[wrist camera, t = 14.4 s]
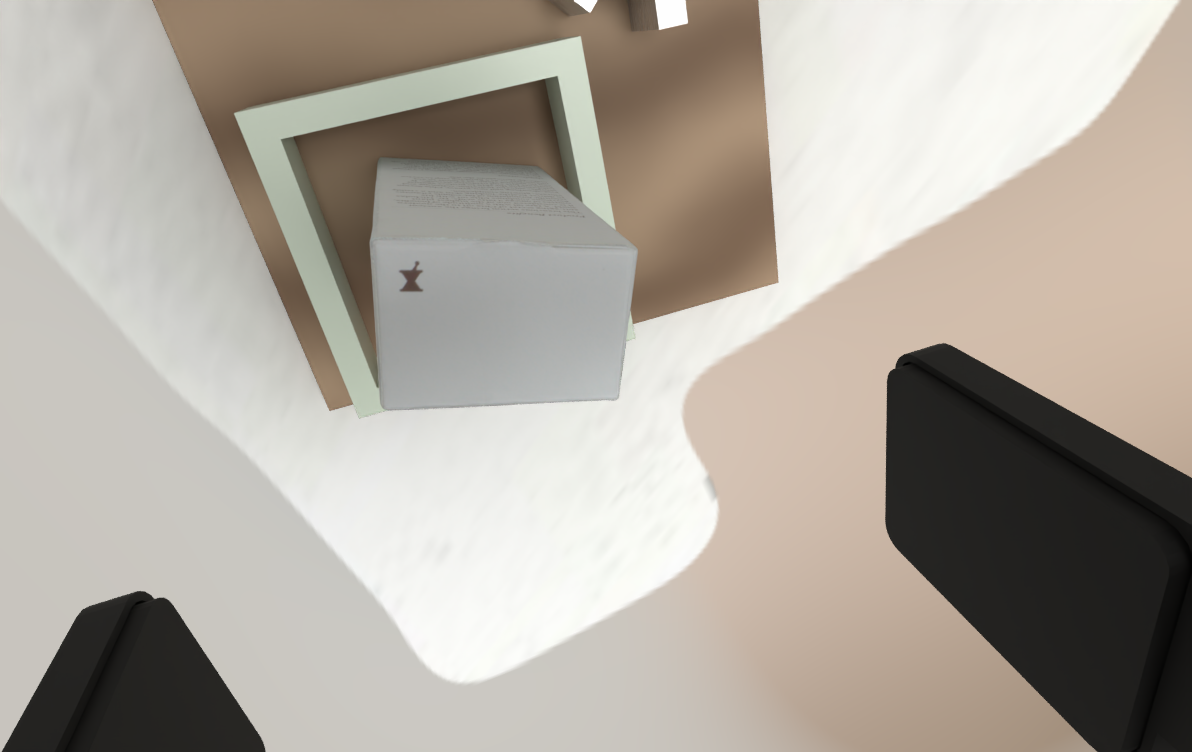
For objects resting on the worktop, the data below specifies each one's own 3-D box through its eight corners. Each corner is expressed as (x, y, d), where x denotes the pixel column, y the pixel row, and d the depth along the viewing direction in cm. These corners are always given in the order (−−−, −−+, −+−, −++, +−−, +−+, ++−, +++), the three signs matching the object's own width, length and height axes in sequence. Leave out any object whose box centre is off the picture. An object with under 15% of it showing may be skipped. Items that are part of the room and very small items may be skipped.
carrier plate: (85, -188, 20) (63, -205, 19) (716, -289, 23) (735, -309, 22) (332, 395, 30) (329, 410, 28) (762, 272, 32) (778, 282, 31)
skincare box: (381, 271, 27) (371, 415, 16) (377, 154, 25) (363, 231, 14) (538, 273, 28) (623, 406, 18) (544, 164, 26) (642, 240, 16)
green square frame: (249, 107, 23) (233, 112, 21) (564, 37, 25) (580, 35, 23) (362, 390, 28) (359, 418, 26) (617, 317, 30) (635, 338, 28)
